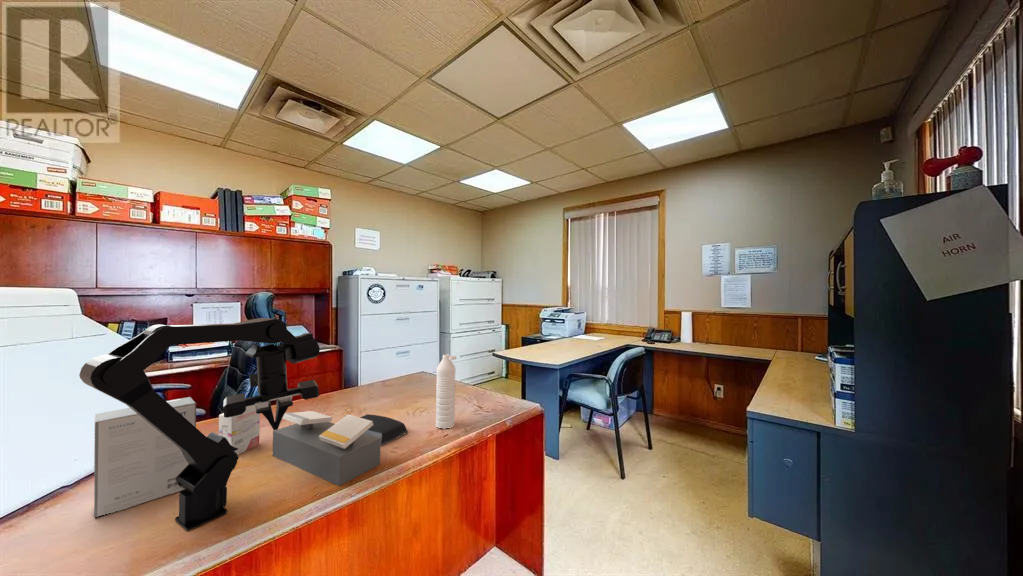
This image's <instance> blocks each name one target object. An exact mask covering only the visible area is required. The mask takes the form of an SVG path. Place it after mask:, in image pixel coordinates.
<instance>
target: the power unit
mask: <svg viewBox="0 0 1023 576" xmlns="http://www.w3.org/2000/svg"><path fill="white" fill-rule="evenodd" d="M335 424H336V423H333V422H332V421H331V422H322V423H314V424H305V425H299V424H296V423H293V424H291V425H287V426H284V427H281V428H278V429H277V430H273V431H272V457H274V458H276V459H279V460H281V461H283V462H286V463H288V464H290V465H291V466H294V467H296V468H299V469H301V470H303V471H305V472H307V473H309V474H311V475H314V476H316V477H317V478H318V477H319V478H320V479H323V480H324V481H327V482H328V483H331V484H334V485H335V486H337V487H340V486H342V485H344V484H346V483H348V482H349V481H351V480H353V479H355V478H357V477H359V476H361V475H363V474H365V473H366V472H368V471H370V470H373V469H375V468H376V467H378V466H379V465H381V446H380V445H381V438H378V437H375V436H372V435H368V434H365V433H363V434H362V435H361V436H359V437H358V438H357V439H356V440H355V441H353V442H352V443H351V444H350V445H349V446H347V447H346V448H345V449H344V448H341V447H338V446H335V445H333V444H330V443H327V442H324V441H322V440H320V438H319V436H320V435H321V434H322V433H323V432H325V431H326V430H328V429H329V428H330V427H332V426H333V425H335Z"/></svg>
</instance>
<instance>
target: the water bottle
mask: <svg viewBox="0 0 1023 576" xmlns="http://www.w3.org/2000/svg"><path fill="white" fill-rule="evenodd" d="M454 360H457V355H451V354H448V353H446V354H442V359H441V360H440V362H439V364H438V365H437V367H436V389H435V390H436V391H435V393H436V394H435V395H436V397H435V398H436V399H435V402H436V403H435V413H436V414H435V428H437V427H438V428H448V427H451V426H453V425H454V424H456V421H455V420H456V418H455V417H456V416H455V415H456V413H455V412H456V408H455V406H456V402H455V401H456V397H455V396H456V365H455V364H454V363H453V361H454ZM454 426H455V425H454ZM438 428H437V429H438Z"/></svg>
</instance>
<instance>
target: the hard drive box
mask: <svg viewBox="0 0 1023 576" xmlns="http://www.w3.org/2000/svg"><path fill="white" fill-rule="evenodd" d="M165 401H166V402H167V403H169V404H170V405H171V406H172V407H173V408H174V409H175V410H177V411H178V412H179V413H180V414H181V415H182V416H183V417H184V418H186V419H187V420H188V421H189V422H190V423H191V424H192V425H193V426H195V427H196V428H197V402H195V400H194V399H193V398H192V397H191V396H188V397H181V398H176V399H171V400H165ZM93 458H94V460H93V462H94V463H93V464H94V465H93V466H94V471H93V473H94V475H93V477H94V484H93V485H94V492H93V493H94V494H93V495H94V498H93V500H94V501H93V502H94V504H93V505H94V507H93V518H94V517H98V516H101V515H104V516H106V515H105V514H107V515H110V514H114V513H116V511H117V512H120V511H124V510H126V509H128V508H132V507H135V506H138V505H140V504H143V503H148V502H149V501H153V500H156V499H160V498H163V497H166V496H170V495H172V494H176V493H178V492H180V491H182V490H184V488H183V487H180V486H179V485H178V483H177V482H176V480H175V478H176V477H177V476H178V475H179V474H180V473H181V472H182V471H183V470H184V468H185V467H186V466H187V465H188V462H187V461H186V459H185V458H184V455H183V453H182V451H181V449H180V448H179V447H177V446H176V445H175V444H174V443H173V442H171V441H170V440H169V439H168V438H166V437H165V436H164V435H163V434H162V433H160V432H159V431H158V430H157V429H155V428H154V427H153V426H152V425H150V424H149V423H148V422H147V421H146V420H144V419H143V418H142V417H141V416H139V415H138V414H137V413H136V412H135V411H133V410H132V409H131V408H130V407H128V408H119V409H115V410H110V411H106V412H99V413H95V415H94V457H93ZM123 509H124V510H123ZM109 513H110V514H109ZM101 517H102V516H101ZM98 518H99V517H98Z"/></svg>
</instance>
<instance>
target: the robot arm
mask: <svg viewBox="0 0 1023 576" xmlns="http://www.w3.org/2000/svg"><path fill="white" fill-rule="evenodd" d="M236 341H237V342H238V341H242V342H244V341H245V342H252V343H254V342H255V343H262V344H265V345H257V344H252V346H251V347H250V348H249V349H247V351H246V352H244V355H245V356H247V357H250V358H253V359H256V369H257V373H251V374H249V387H250V388H253V387H257V393H258V395H255V396H249V397H246V394H245V393H238V394H233V395H229V396H226V397H225V398H224V399H223V405H222V406H223V407H222V409H223V413H224V417H226V418H228V417H232V416H237V415H241V414H243V413H244V412H245V411H246V407H247V406H251V405H255V408H256V413H257V414H262V415H263V416H264V417H265V419H267V420H266V421H268V423H269V425H270V426H271V429H272V430H273V431H274V430H278V429H279V427H280V425H281V423H282V418H283V416H284V414H285V413H287V410H288V409H289V408H290V407H292V406H293V405H294V401H293V400H292V399H294V398H293V397H296V396H301V399H303V400H305V401H307V400H311V399H315V398H318V397H319V396H320V389H319V386H318V384H317V382H316V381H315V380H314V379H310V380H309V379H308V380H305V381H299V382H297V387H294V388H288V378H287V377H288V376H287V374H288V373H287V362H289V363H291V364H293V365H295V364H298V363H301V362H305V361H308V360H311V359H315V358H317V357H319V355H320V352H321V351H320V345H319V344H318V342H317V340H316V338H314V334H313V333H312V332H306V333H302V334H300V335H296V336H295V335H294V334H293V333H292V332H291V331H290V330H289V329H288V328H287V325H286V322H284V321H283V319H279V318H268V317H259V318H258V317H257V318H253V319H247V320H244V321H240V322H239V321H238V322H234V323H207V324H177V325H176V324H175V325H173V324H172V325H171V324H170V325H166V324H159V323H158V324H154V325H150V326H148V327H147V328H146V329H145V330H143V331H142V332H141V333H139V334H138V335H136V336H134V337H132V338H131V339H129V340H127V341H125V342H124V343H122V344H120V345H117V347H115V348H114V349H112V350H111V351H109V352H107V354H102V355H98V356H95V357H92V358H90V359H89V360H88V361H87V362H85V363H84V364H83V365H82V367H81V369H80V373H79V378H80V380H81V381H82V383H84V384H85V385H86V386H89V387H91V388H93V389H95V390H97V391H99V392H100V393H103V394H105V395H106V396H109V397H111V398H113V399H115V400H117V401H119V402H120V403H123V404H125V405H126V406H128V408H131V409H132V410H133V411H135V412H136V413H137V414H138V415H139V416H141V417H142V418H143V419H144V420H146V421H147V422H148V423H149V424H150V425H152V426H153V427H154V428H155V429H157V430H158V431H159V432H160V433H162V434H163V435H164V436H165V437H166V438H168V439H169V440H170V441H171V442H173V443H174V444H175V445H176V446H177V447H179V448H180V449H181V451H182V453H183V455H184V458H185V459H186V461H187V462H188V465H187V466H186V467H185V468H184V470H183V471H182V472H181V473H180V474H179V475H178V476H177V477H176V478H175V480H176V482H177V483H178V485H179V486H180V487H183V488H184V490H181V491H179V496H178V504H179V505H178V516H176V517H175V518H174V521H175V523H177V524H178V525H180V527H182V528H183V530H185V531H191V530H193V529H195V528H198V527H199V526H201V525H204V524H206V523H208V522H210V521H212V520H215V519H217V518H219V517H221V516H224V515H225V514H227V513H228V509H227V508H226V506H227V500H228V487H227V485H228V481H229V478H230V477H231V474H232V472H233V471H234V470H235V467H237V464H238V460H239V454H238V455H237V453H236V452H235V451H236V450H238V448H236V447H234V446H231V445H230V443H229V442H228V440H227V439H226V438H225V437H223V436H220V435H219V433H216V432H214V431H210V433H209V434H208V435H207V436H206V435H205V434H203V432H202V431H201V430H200V429H198V428H197V426H196V427H195V426H193V425H192V424H191V423H190V422H189V421H188V420H187V419H186V418H184V417H183V416H182V415H181V414H180V413H179V412H178V411H177V410H175V409H174V408H173V407H172V406H171V405H170V404H169V403H167V402H166V401H167V400H166V399H164V398H163V397H162V396H161V395H160V394H159V393H157V391H155V388H154V387H153V385H152V382H151V381H150V378H149V377H148V375H147V374H146V373H145V370H147V369H148V368H149V367H150V366H151V365H153V363H155V362H156V360H158V359H159V357H160V356H161V355H162V354H163V353H164V352H165V351H166V350H167V349H169V348H170V347H171V346H173V345H174V346H178V345H192V344H193V345H195V344H205V343H206V344H207V343H208V344H209V343H221V342H236ZM275 344H278V345H275ZM273 401H274V402H275V401H276V403H275V404H276V408H275V416H274V413H273V409H272V405H271V402H273Z"/></svg>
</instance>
